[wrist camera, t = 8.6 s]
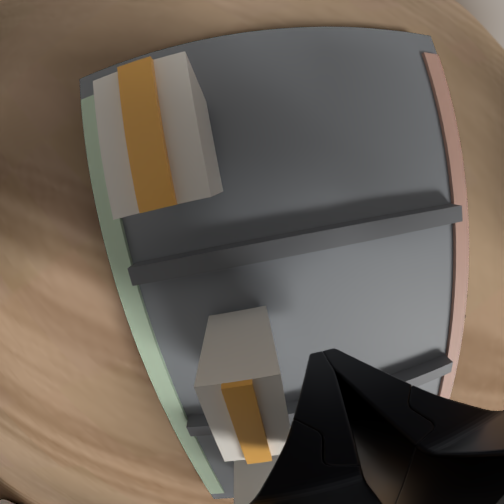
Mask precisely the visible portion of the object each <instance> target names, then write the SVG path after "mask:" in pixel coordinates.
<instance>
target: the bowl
mask: <svg viewBox="0 0 504 504" xmlns="http://www.w3.org/2000/svg"><path fill="white" fill-rule="evenodd" d="M0 504H14V503H12V502H10V501H7V500H4V499H1V500H0Z"/></svg>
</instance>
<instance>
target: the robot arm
mask: <svg viewBox="0 0 504 504" xmlns="http://www.w3.org/2000/svg"><path fill="white" fill-rule="evenodd" d="M411 386H412V387H411ZM364 477H365V478H364ZM365 479H366V480H365ZM249 504H504V410H503V411H490V410H485V409H482V408H478V407H474V406H471V405H467V404H464V403H460V402H457V401H453V400H450V399H447V398H444V397H441V396H438V395H435V394H433V393H430V392H428V391H425V390H423V389H421V388H418V387H416V386H414V385H411V384H409V383H407V382H405V381H403V380H400V379H398V378H396V377H394V376H392V375H390V374H388V373H385V372H383V371H381V370H379V369H377V368H375V367H373V366H371V365H369V364H366V363H364V362H362V361H360V360H358V359H356V358H354V357H352V356H350V355H348V354H346V353H344V352H342V351H340V350H338V349H336V348H332V349H328V350H324V351H323V352H322V351H320V352H316V353H311V354H310V355H309V359H308V363H307V367H306V372H305V376H304V380H303V384H302V388H301V391H300V395H299V399H298V403H297V407H296V410H295V414H294V418H293V421H292V424H291V428H290V431H289V434H288V437H287V439H286V442H285V444H284V447H283V449H282V451H281V453H280V455H279V457H278V459H277V461H276V463H275V465H274V466H273V468H272V470H271V472H270V474H269V475H268V477H267V479H266V481H265V482H264V484H263V486H262V488H261V489H260V491H259V492H258V494H257V495H256V497H255V498H254V499H253V500H252V501H251V502H250V503H249Z"/></svg>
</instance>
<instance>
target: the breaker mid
mask: <svg viewBox="0 0 504 504" xmlns="http://www.w3.org/2000/svg"><path fill="white" fill-rule="evenodd" d="M194 389H195V391H196V394H197V397H198V399H199V402H200V404H201V407H202V410H203V412H204V415H205V417H206V420H207V422H208V424H209V427H210V429H211V432H212V434H213V436H214V439H215V441H216V443H217V446H218V448H219V450H220V452H221V455H222V457H223V459H224V461H225V462H226V461H237V460H246V462H247V464H254V463H262V462H268V461H272V456H274V455H280V453H281V451H282V449H283V447H284V444H285V442H286V439H287V437H288V434H289V431H290V423H289V417H288V412H287V406H286V401H285V395H284V390H283V384H282V378H281V373H280V368H279V364H278V359H277V354H276V350H275V345H274V340H273V335H272V331H271V326H270V321H269V317H268V312H267V307H266V306H261V307H256V308H251V309H245V310H240V311H234V312H228V313H223V314H217V315H211V316H209V317H208V322H207V327H206V331H205V336H204V340H203V345H202V350H201V355H200V359H199V364H198V369H197V374H196V379H195V384H194Z"/></svg>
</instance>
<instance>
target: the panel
mask: <svg viewBox="0 0 504 504" xmlns="http://www.w3.org/2000/svg"><path fill="white" fill-rule="evenodd" d="M184 51H185V52H186V54H187V57H188V59H189V62H190V64H191V66H192V69H193V71H194V73H195V76H196V78H197V81H198V83H199V85H200V88H201V90H202V92H203V95H204V97H205V100H206V103H207V108H208V114H209V119H210V124H211V130H212V135H213V140H214V146H215V151H216V156H217V161H218V167H219V172H220V177H221V182H222V187H223V192H221V193H219V194H217V195H214V196H212V197H208V198H204V199H199V200H194V201H190V202H185V203H181V204H177V205H173V206H169V207H164V208H160V209H156V210H152V211H148V212H143V213H138V214H134V215H130V216H126V217H122V218H119V219H115V220H113V216H112V212H111V207H110V202H109V197H108V192H107V187H106V182H105V176H104V170H103V164H102V158H101V152H100V145H99V138H98V130H97V121H96V112H95V102H94V90H93V81H94V80H97V79H99V78H102V77H104V76H107V75H109V74H112V73H115V72H117V67H119V66H122V65H125V64H128V63H131V62H134V61H137V60H140V59H143V58H146V57H149V56H151V58H152V59H153V60H154V59H158V58H161V57H165V56H168V55H172V54H176V53H180V52H184ZM80 96H81V110H82V120H83V130H84V138H85V146H86V153H87V160H88V166H89V172H90V178H91V184H92V189H93V195H94V200H95V205H96V209H97V214H98V219H99V223H100V227H101V232H102V236H103V240H104V244H105V248H106V251H107V255H108V259H109V263H110V266H111V270H112V273H113V277H114V280H115V283H116V287H117V290H118V293H119V296H120V299H121V303H122V306H123V309H124V312H125V315H126V317H127V320H128V323H129V326H130V329H131V332H132V334H133V337H134V340H135V342H136V345H137V348H138V350H139V353H140V355H141V358H142V360H143V363H144V365H145V368H146V370H147V373H148V375H149V377H150V380H151V382H152V384H153V386H154V389H155V391H156V393H157V395H158V398H159V400H160V402H161V404H162V406H163V408H164V410H165V413H166V415H167V417H168V419H169V421H170V423H171V425H172V427H173V429H174V431H175V433H176V435H177V437H178V439H179V440H180V442H181V444H182V446H183V448H184V450H185V452H186V453H187V455H188V457H189V459H190V461H191V462H192V464H193V466H194V468H195V469H196V471H197V473H198V474H199V476H200V478H201V479H202V481H203V483H204V484H205V486H206V488H207V489H208V491H209V492H210V494H211V495H212V497H213V499H220V498H234V461H226V462H225V461H224V459H223V457H222V455H221V452H220V450H219V448H218V446H217V443H216V441H215V439H214V436H213V434H212V432H211V429H210V427H209V424H208V422H207V420H206V417H205V415H204V412H203V410H202V407H201V404H200V402H199V399H198V397H197V394H196V391H195V389H194V384H195V379H196V374H197V369H198V364H199V359H200V355H201V350H202V345H203V340H204V336H205V331H206V327H207V322H208V317H209V316H211V315H217V314H223V313H228V312H234V311H240V310H245V309H251V308H256V307H261V306H266V307H267V312H268V317H269V321H270V326H271V331H272V335H273V340H274V345H275V350H276V354H277V359H278V364H279V368H280V373H281V378H282V384H283V390H284V395H285V401H286V406H287V412H288V417H289V423H290V428H291V424H292V421H293V418H294V414H295V410H296V407H297V403H298V399H299V395H300V391H301V388H302V384H303V380H304V376H305V372H306V367H307V363H308V359H309V355H310V354H311V353H316V352H320V351H322V352H323V351H324V350H328V349H332V348H336V349H338V350H340V351H342V352H344V353H346V354H348V355H350V356H352V357H354V358H356V359H358V360H360V361H362V362H364V363H366V364H369V365H371V366H373V367H375V368H377V369H379V370H381V371H383V372H385V373H388V374H390V375H392V376H394V377H396V378H398V379H400V380H403V381H405V382H407V383H409V384H411V385H414V386H416V387H418V388H421V389H423V390H425V391H428V392H430V393H433V394H435V395H438V396H441V397H444V398H447V399H450V396H451V392H452V388H453V383H454V379H455V374H456V370H457V365H458V359H459V354H460V348H461V342H462V335H463V328H464V321H465V312H466V302H467V289H468V272H469V219H468V201H467V189H466V179H465V170H464V162H463V155H462V149H461V143H460V137H459V132H458V126H457V121H456V117H455V112H454V108H453V104H452V99H451V95H450V92H449V88H448V84H447V81H446V77H445V74H444V70H443V67H442V64H441V61H440V58H439V55H438V54H437V53H436V50H435V47H434V44H433V42H432V39H431V36H428V35H422V34H416V33H409V32H402V31H394V30H384V29H373V28H358V27H297V28H282V29H270V30H260V31H252V32H244V33H237V34H231V35H225V36H219V37H214V38H208V39H204V40H199V41H194V42H190V43H186V44H181V45H177V46H173V47H170V48H166V49H162V50H159V51H155V52H152V53H149V54H145V55H142V56H139V57H136V58H133V59H130V60H127V61H124V62H121V63H118V64H116V65H113V66H110V67H108V68H105V69H103V70H100V71H98V72H95V73H93V74H90V75H88V76H86V77H83V78H81V79H80ZM411 387H412V386H411Z"/></svg>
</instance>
